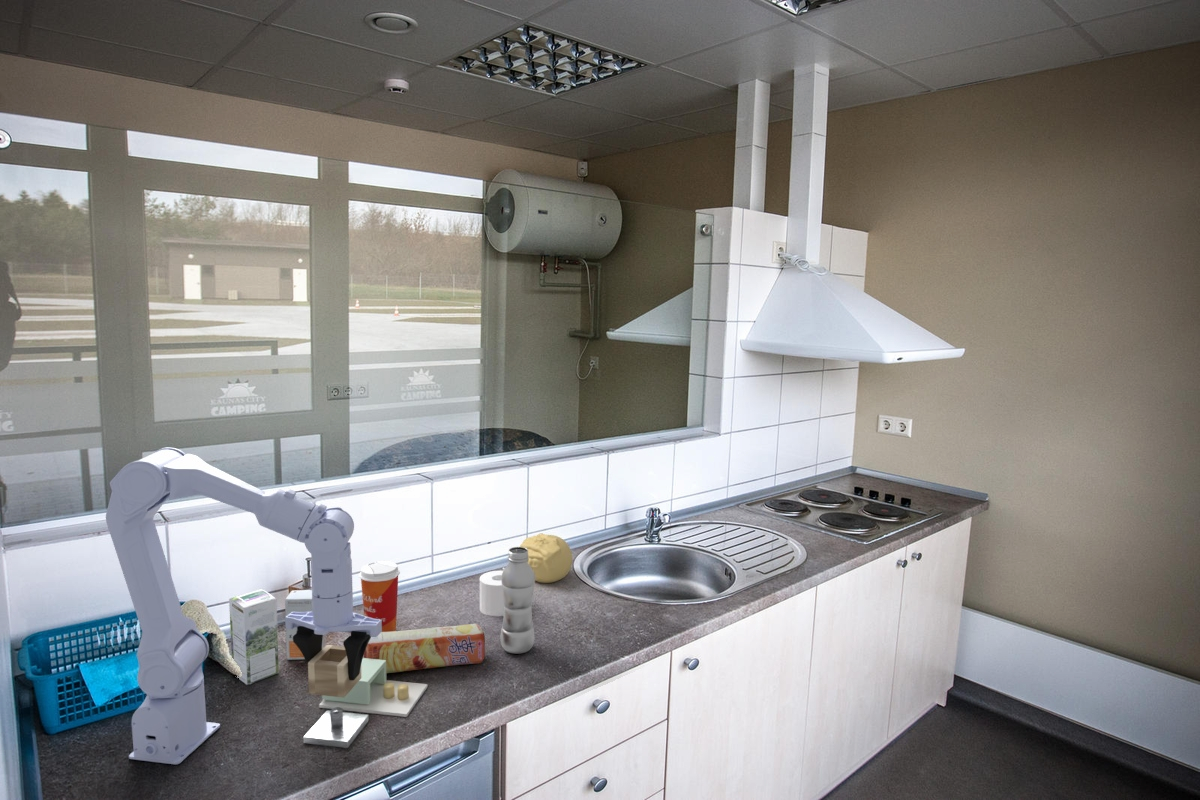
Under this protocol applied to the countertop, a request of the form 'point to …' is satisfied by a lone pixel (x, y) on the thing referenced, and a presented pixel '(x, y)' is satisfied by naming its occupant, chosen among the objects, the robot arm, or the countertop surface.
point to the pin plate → (336, 728)
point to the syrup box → (254, 635)
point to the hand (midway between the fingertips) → (335, 675)
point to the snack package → (428, 647)
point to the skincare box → (297, 603)
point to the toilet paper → (491, 594)
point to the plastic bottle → (517, 602)
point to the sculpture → (548, 557)
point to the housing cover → (364, 682)
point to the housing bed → (385, 699)
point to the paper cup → (380, 592)
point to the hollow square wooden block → (330, 672)
